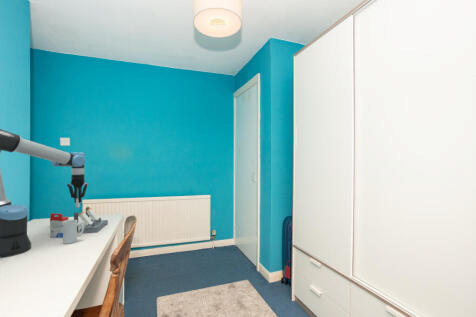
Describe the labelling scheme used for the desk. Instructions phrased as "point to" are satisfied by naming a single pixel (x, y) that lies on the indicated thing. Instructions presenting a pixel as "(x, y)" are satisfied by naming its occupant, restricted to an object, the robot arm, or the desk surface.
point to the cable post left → (76, 218)
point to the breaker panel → (94, 226)
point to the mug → (71, 231)
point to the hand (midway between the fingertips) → (77, 207)
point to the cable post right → (86, 212)
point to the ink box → (57, 225)
